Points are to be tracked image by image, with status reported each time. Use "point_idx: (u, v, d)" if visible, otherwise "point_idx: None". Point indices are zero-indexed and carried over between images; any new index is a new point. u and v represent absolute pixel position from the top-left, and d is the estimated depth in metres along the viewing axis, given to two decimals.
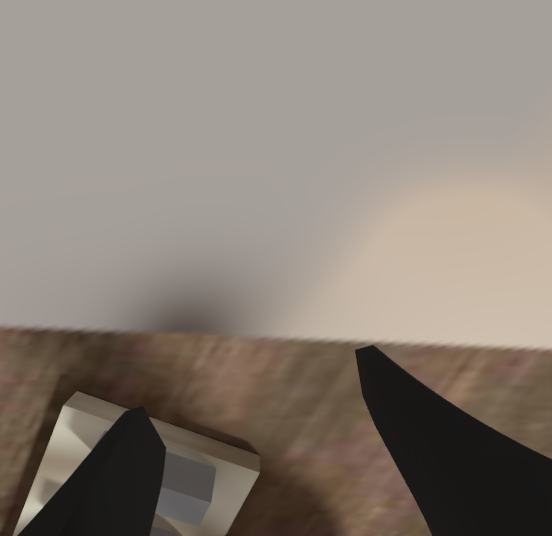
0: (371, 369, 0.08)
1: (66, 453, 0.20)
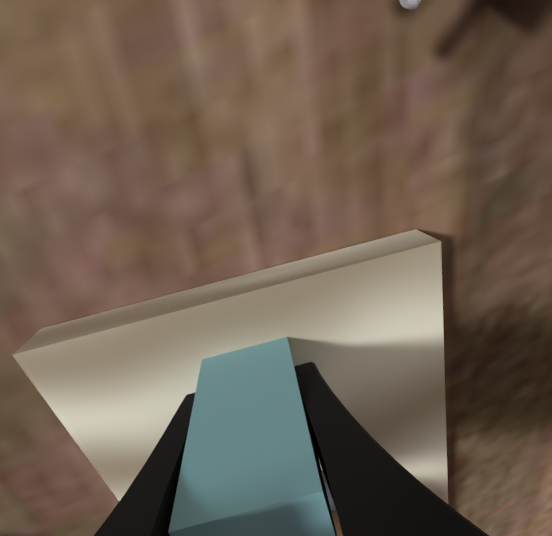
0: (300, 388, 0.08)
1: None
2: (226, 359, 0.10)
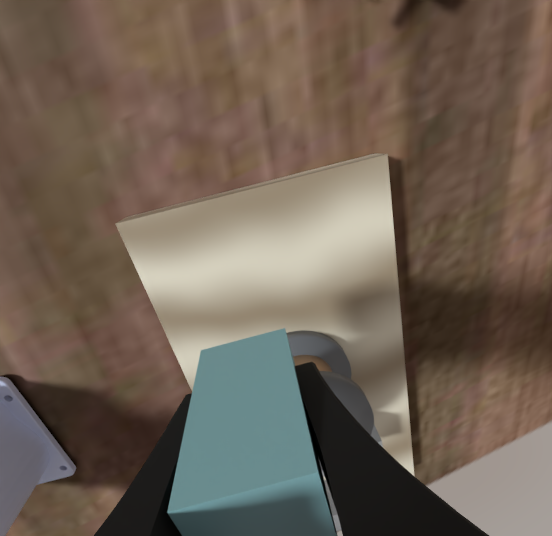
0: (300, 388, 0.08)
1: (396, 455, 0.24)
2: (225, 350, 0.10)
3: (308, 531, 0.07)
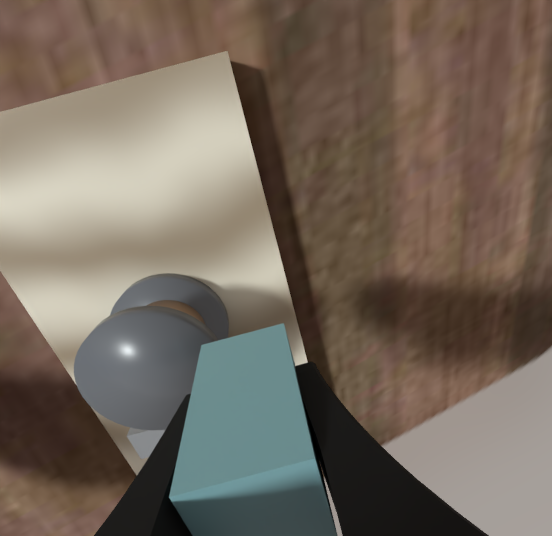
0: (299, 388, 0.08)
1: None
2: (225, 344, 0.10)
3: (305, 517, 0.07)
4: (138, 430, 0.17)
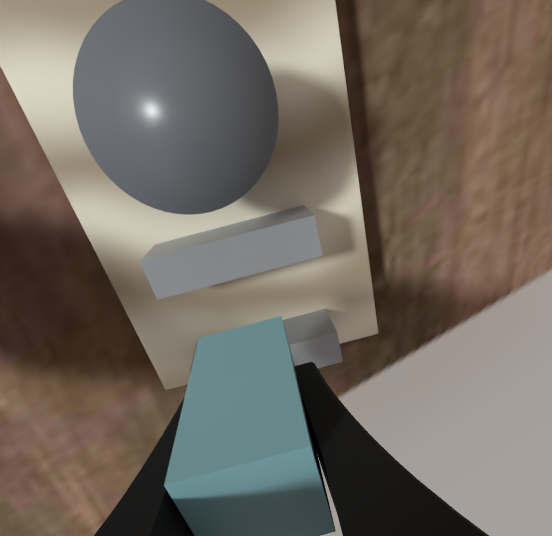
0: (300, 388, 0.08)
1: (351, 291, 0.18)
2: (222, 337, 0.10)
3: (302, 507, 0.07)
4: (154, 256, 0.14)
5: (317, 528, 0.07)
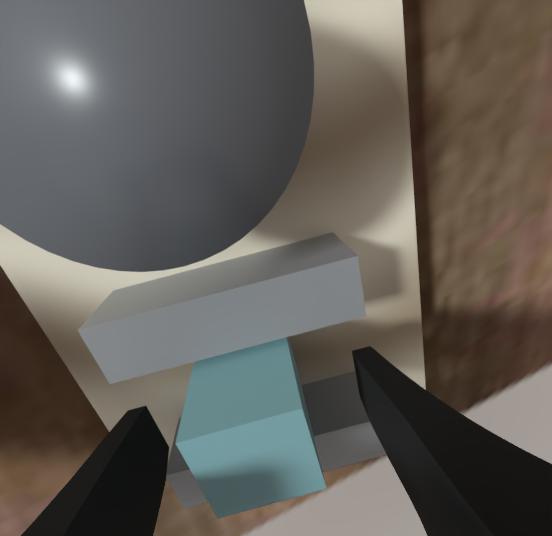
0: (367, 370, 0.08)
1: (393, 347, 0.13)
2: None
3: (296, 465, 0.08)
4: (102, 320, 0.08)
5: (310, 485, 0.08)
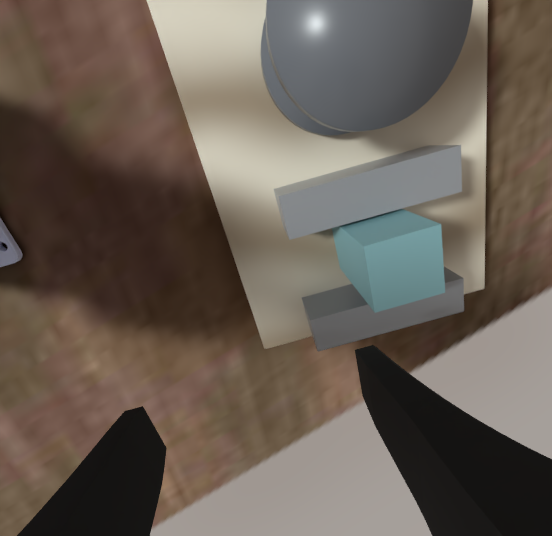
0: (371, 369, 0.08)
1: (463, 242, 0.17)
2: None
3: (429, 271, 0.12)
4: (292, 191, 0.13)
5: (436, 289, 0.12)
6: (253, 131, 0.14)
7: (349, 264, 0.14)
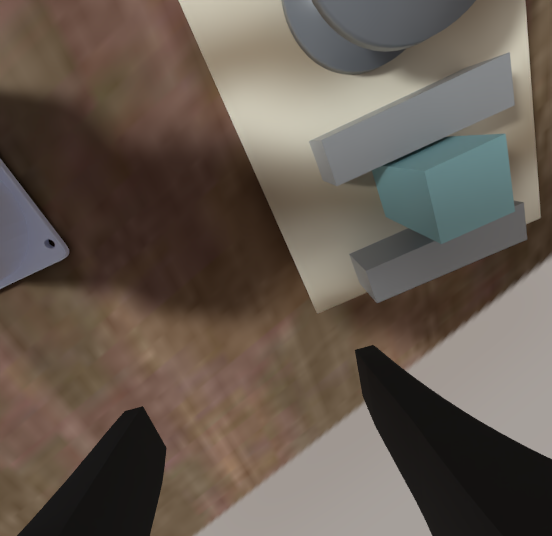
0: (371, 369, 0.08)
1: (513, 169, 0.16)
2: None
3: (496, 189, 0.11)
4: (334, 133, 0.12)
5: (504, 208, 0.12)
6: (282, 82, 0.14)
7: (400, 204, 0.14)
